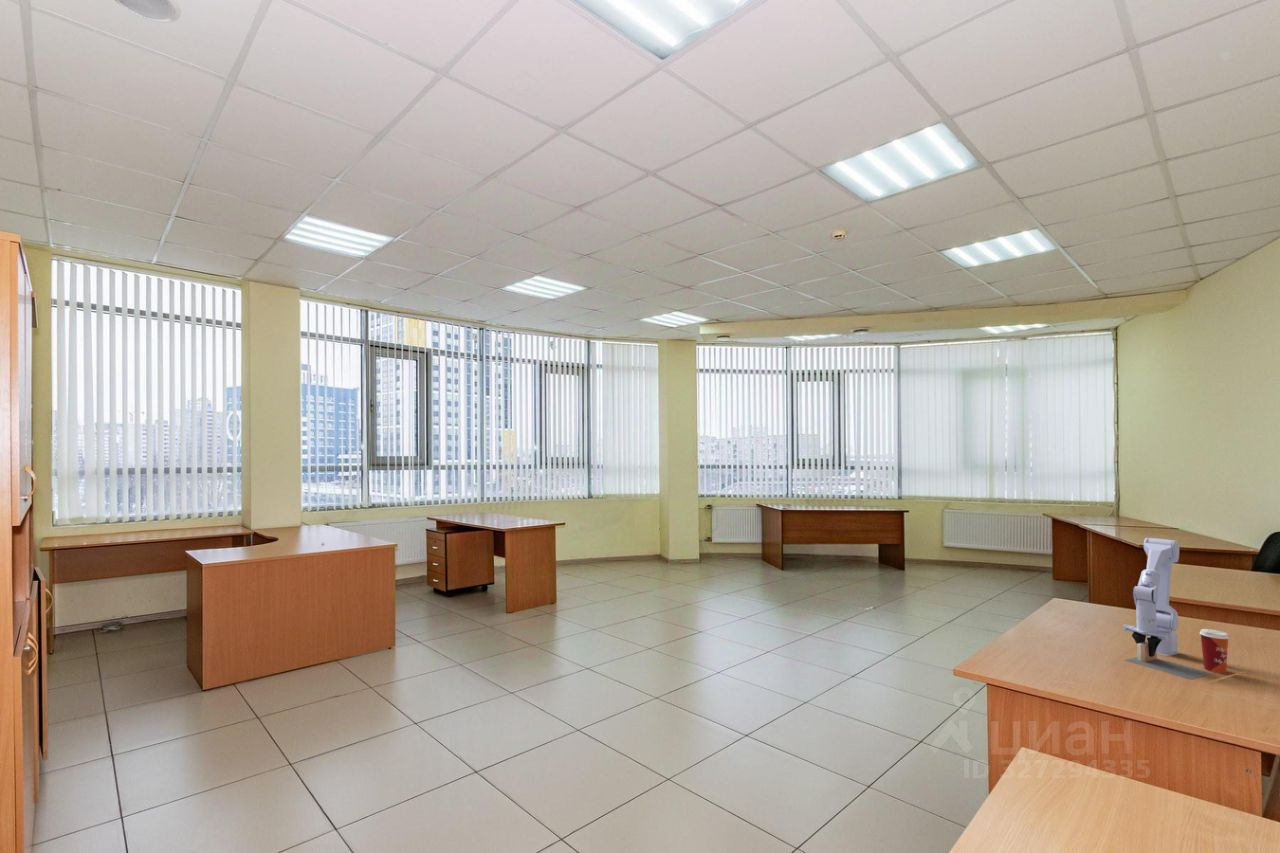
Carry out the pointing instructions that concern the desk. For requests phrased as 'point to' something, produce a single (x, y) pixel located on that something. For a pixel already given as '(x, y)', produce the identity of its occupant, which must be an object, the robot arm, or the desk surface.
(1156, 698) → the desk surface
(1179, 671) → the mat
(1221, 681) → the desk surface
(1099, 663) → the desk surface
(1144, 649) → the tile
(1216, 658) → the paper cup
